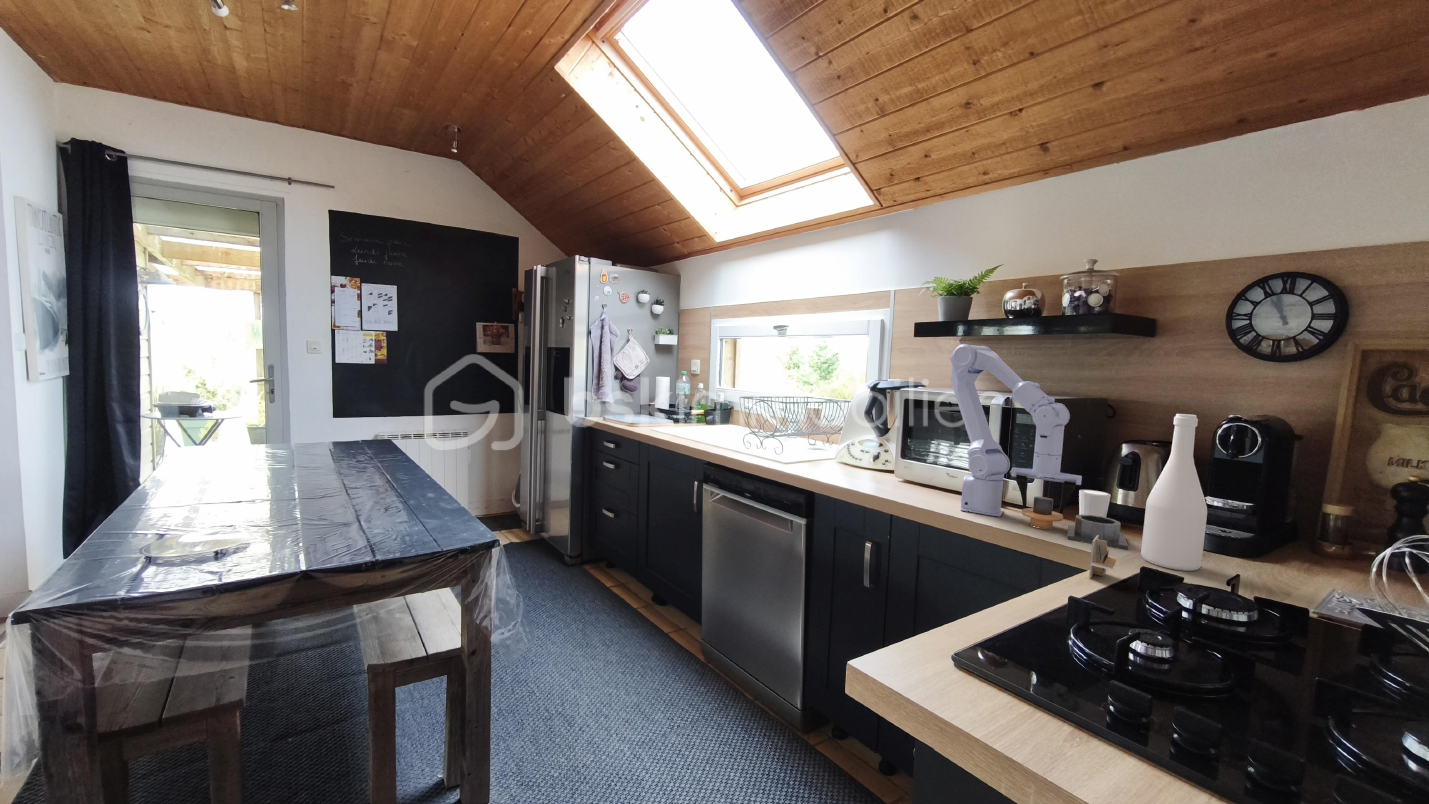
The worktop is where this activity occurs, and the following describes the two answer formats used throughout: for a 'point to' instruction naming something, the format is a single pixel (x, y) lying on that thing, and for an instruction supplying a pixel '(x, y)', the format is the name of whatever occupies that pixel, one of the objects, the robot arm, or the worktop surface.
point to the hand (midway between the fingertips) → (1042, 509)
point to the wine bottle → (1176, 506)
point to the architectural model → (1100, 558)
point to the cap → (1042, 513)
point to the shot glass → (1093, 503)
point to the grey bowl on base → (1097, 530)
